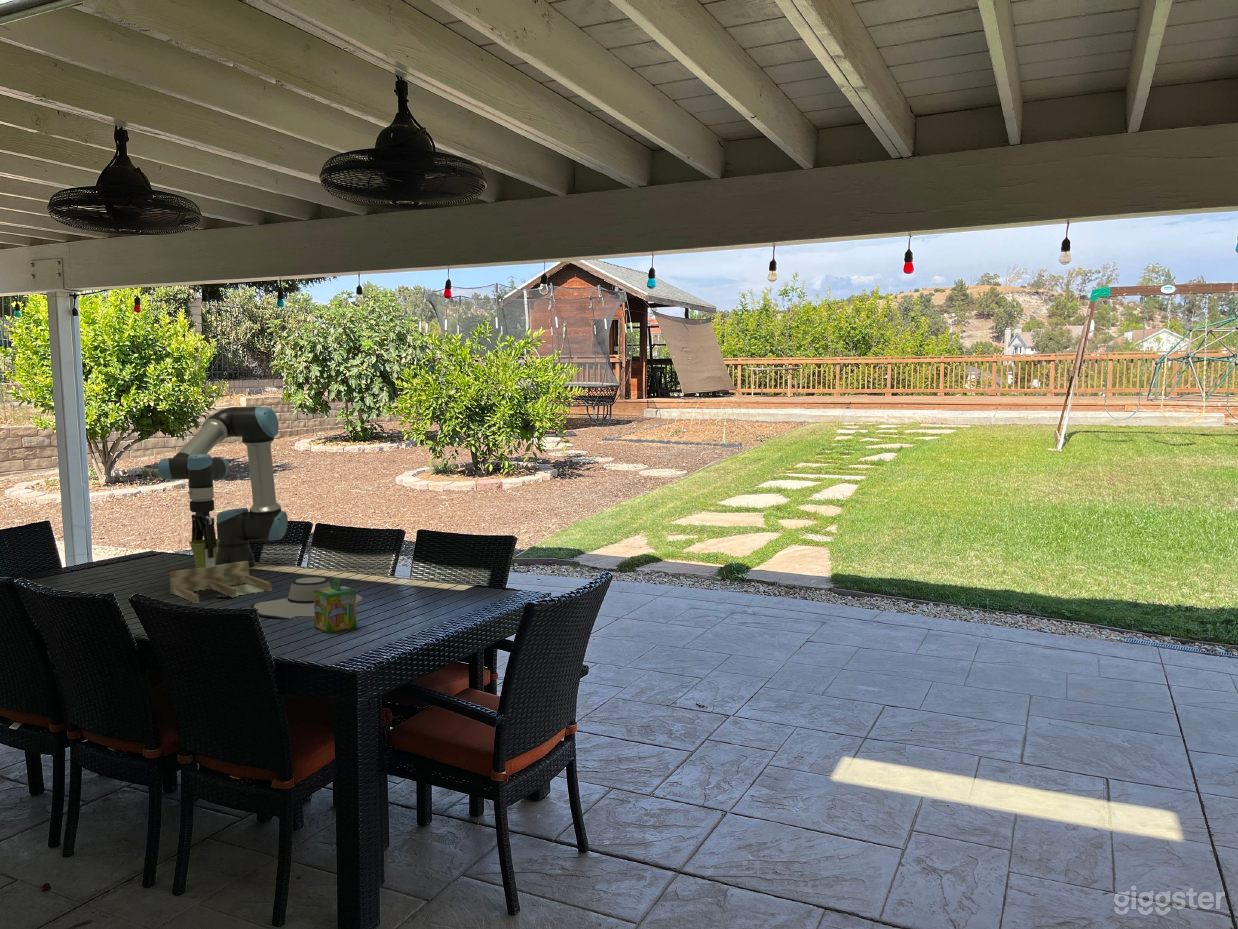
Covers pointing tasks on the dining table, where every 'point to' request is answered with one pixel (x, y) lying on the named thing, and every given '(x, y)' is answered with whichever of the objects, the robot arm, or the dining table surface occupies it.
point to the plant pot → (201, 552)
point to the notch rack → (216, 581)
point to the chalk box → (335, 607)
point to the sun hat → (295, 600)
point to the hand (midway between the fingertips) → (205, 565)
